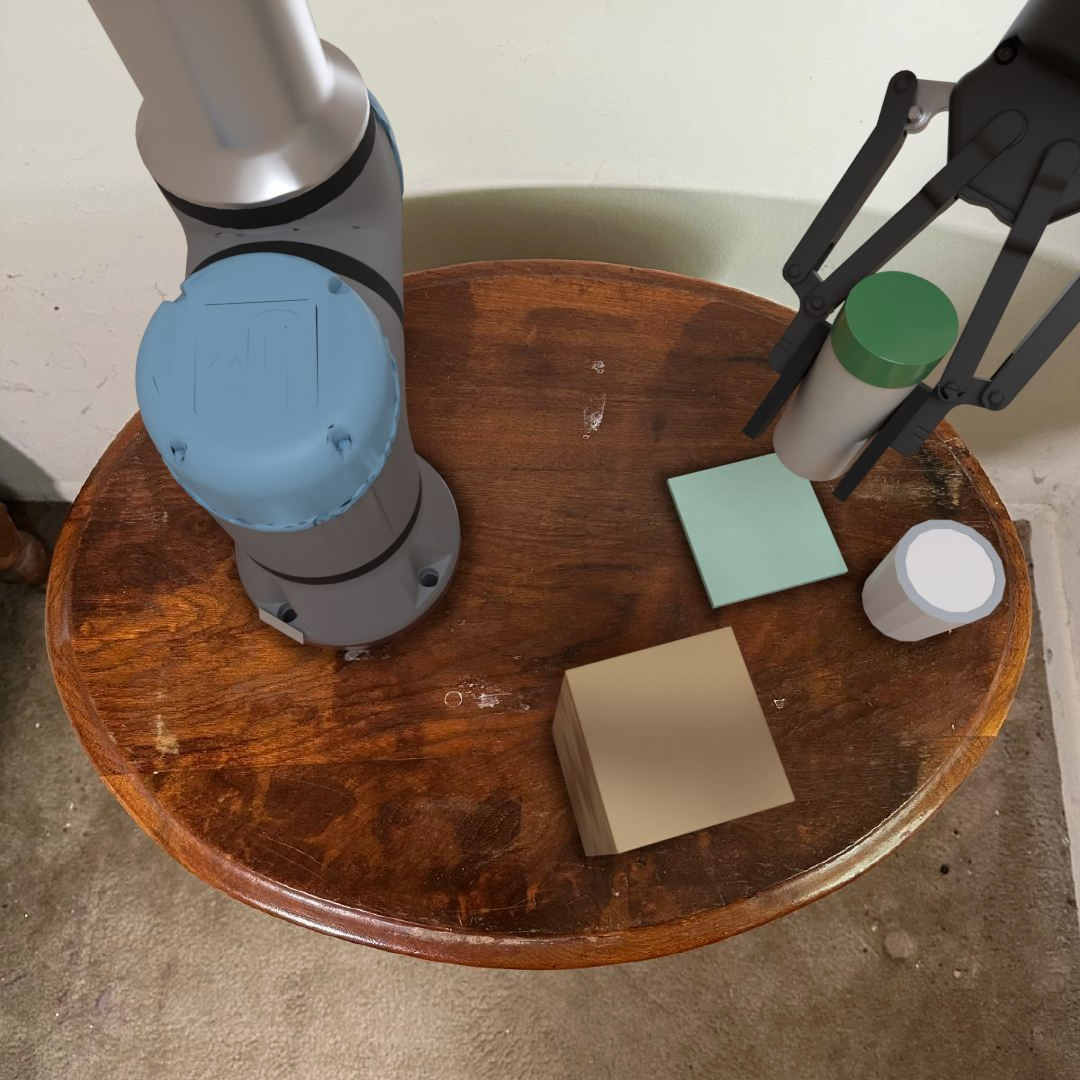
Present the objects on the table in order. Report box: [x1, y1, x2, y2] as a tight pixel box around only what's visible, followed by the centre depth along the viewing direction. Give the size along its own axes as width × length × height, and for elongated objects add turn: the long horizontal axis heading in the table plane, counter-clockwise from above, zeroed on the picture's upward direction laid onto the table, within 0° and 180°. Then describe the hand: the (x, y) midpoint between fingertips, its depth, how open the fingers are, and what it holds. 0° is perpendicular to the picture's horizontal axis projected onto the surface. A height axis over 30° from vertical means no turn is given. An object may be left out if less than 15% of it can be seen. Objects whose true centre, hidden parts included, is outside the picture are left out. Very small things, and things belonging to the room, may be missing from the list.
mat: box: [666, 452, 849, 610], centre depth 59 cm, size 10×10×1 cm
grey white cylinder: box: [861, 519, 1007, 642], centre depth 54 cm, size 7×7×7 cm
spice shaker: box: [772, 270, 960, 482], centre depth 42 cm, size 5×5×12 cm
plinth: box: [550, 626, 796, 857], centre depth 44 cm, size 8×8×18 cm
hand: (796, 461), depth 43 cm, fingers closed on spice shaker, 5 cm apart
